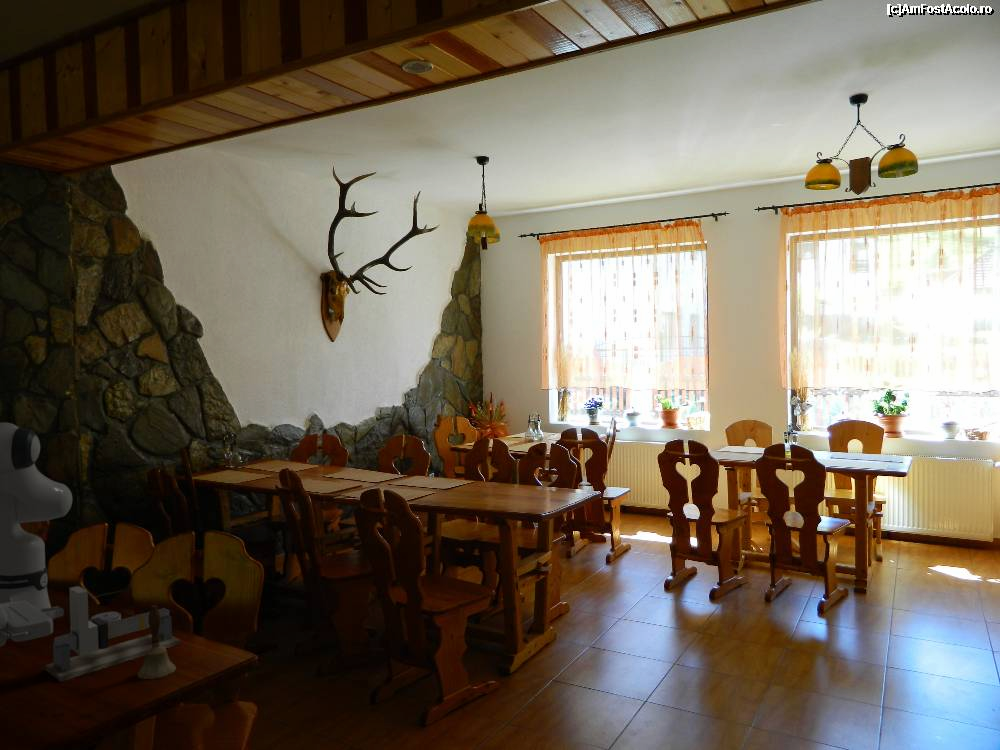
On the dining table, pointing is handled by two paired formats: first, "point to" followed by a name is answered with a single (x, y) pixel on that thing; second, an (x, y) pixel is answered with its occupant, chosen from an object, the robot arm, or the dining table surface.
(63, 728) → the dining table surface
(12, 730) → the dining table surface
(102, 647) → the dark grey rubber pad
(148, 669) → the hand bell
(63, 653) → the grey clamp fixture
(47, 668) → the base board
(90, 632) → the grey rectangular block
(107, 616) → the mechanical component
